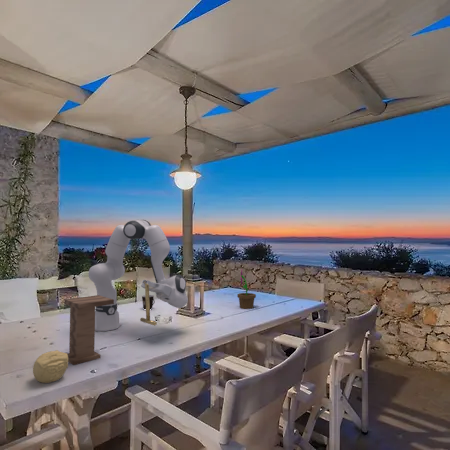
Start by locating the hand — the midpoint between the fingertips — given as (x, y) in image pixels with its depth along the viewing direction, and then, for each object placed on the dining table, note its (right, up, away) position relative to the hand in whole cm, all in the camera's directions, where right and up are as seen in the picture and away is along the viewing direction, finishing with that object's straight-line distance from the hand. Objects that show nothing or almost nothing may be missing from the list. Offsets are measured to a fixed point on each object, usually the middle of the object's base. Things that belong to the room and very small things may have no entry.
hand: (145, 281), depth 177 cm
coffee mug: (-16, -34, +75) cm, 84 cm away
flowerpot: (+59, -35, +85) cm, 109 cm away
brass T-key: (+2, -11, +2) cm, 12 cm away
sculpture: (-26, -30, -47) cm, 61 cm away
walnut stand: (-21, -31, -22) cm, 43 cm away
